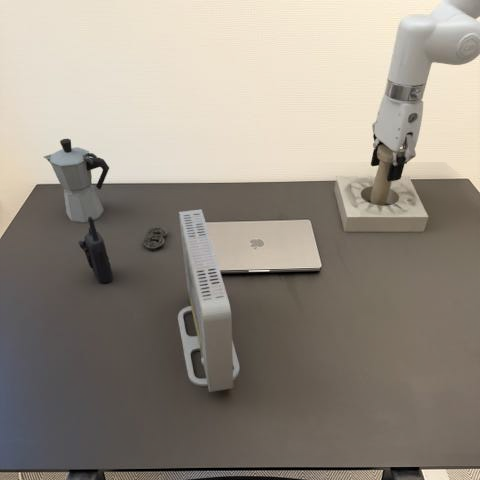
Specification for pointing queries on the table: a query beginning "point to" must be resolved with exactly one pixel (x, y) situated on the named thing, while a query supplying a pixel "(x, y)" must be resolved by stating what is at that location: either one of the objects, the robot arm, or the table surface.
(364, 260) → the table surface
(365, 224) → the square block with hole
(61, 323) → the table surface
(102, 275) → the two-way radio
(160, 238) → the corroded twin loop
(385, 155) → the handle
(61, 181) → the coffee maker
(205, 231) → the network device
